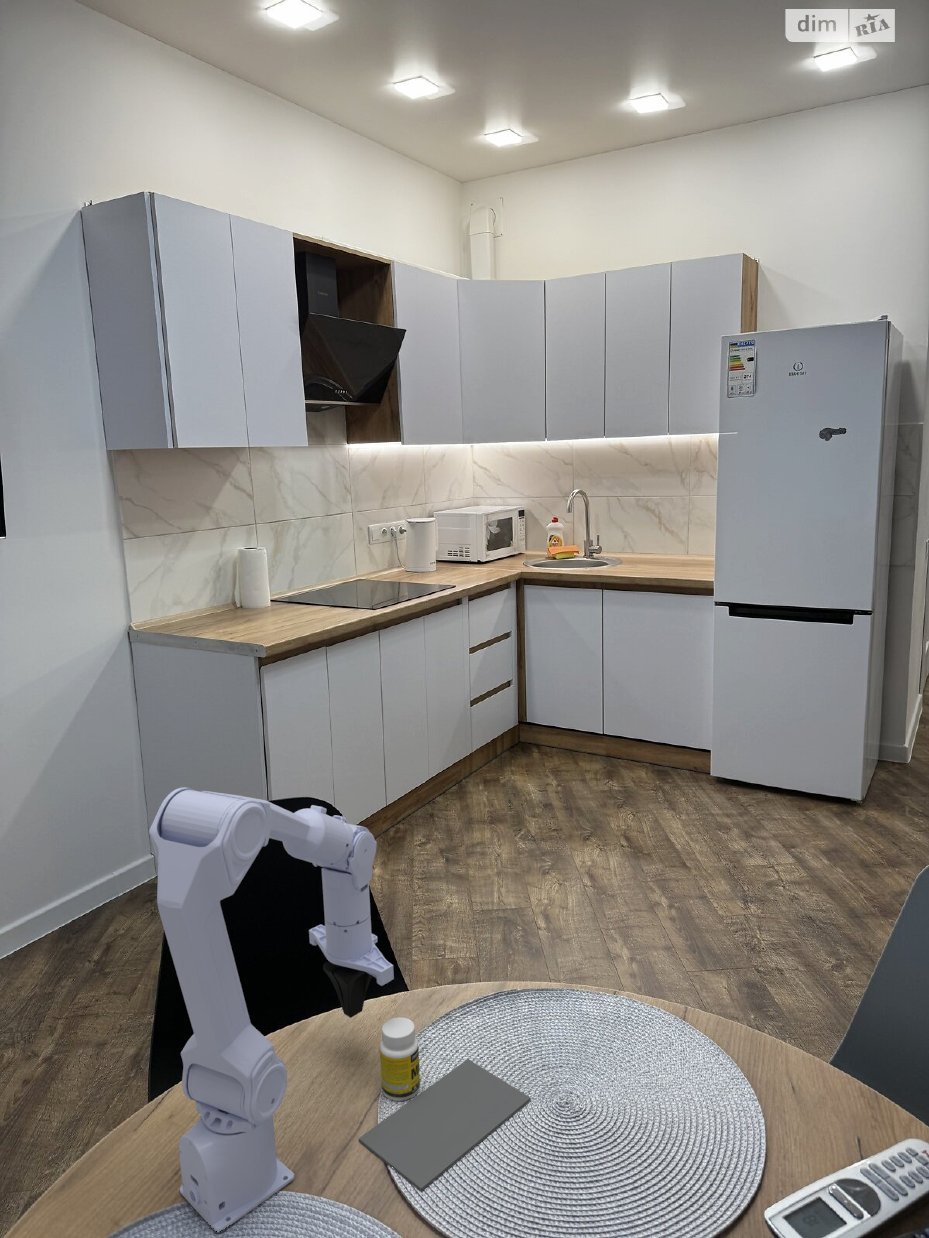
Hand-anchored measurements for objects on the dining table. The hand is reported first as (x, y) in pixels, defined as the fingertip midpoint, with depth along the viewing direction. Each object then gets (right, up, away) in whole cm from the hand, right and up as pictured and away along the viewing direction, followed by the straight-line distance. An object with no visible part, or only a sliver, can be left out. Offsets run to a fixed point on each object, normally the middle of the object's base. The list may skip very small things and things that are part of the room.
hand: (353, 1012), depth 114 cm
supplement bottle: (+6, -7, -5) cm, 11 cm away
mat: (+12, -8, -10) cm, 18 cm away
